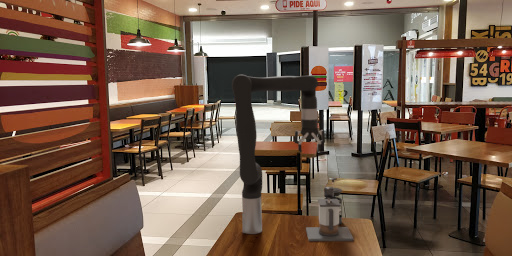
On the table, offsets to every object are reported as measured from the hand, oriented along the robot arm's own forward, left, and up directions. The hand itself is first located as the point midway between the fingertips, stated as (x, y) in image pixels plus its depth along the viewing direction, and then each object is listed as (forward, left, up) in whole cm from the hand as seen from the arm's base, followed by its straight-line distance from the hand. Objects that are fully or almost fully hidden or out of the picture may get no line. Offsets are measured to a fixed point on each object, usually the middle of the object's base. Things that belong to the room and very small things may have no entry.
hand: (309, 152), depth 192 cm
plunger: (+8, -8, -30) cm, 32 cm away
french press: (+12, +9, -38) cm, 41 cm away
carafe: (+8, -9, -37) cm, 39 cm away
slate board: (+8, -8, -38) cm, 40 cm away
